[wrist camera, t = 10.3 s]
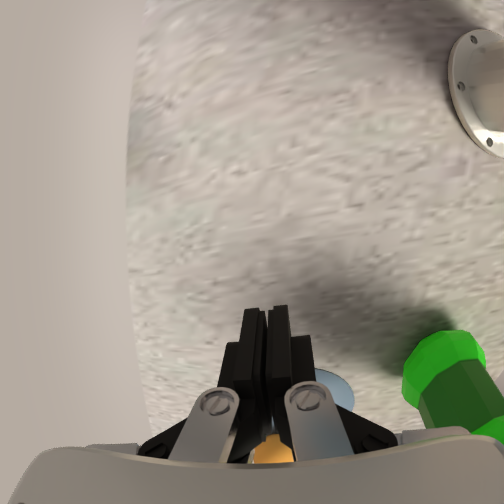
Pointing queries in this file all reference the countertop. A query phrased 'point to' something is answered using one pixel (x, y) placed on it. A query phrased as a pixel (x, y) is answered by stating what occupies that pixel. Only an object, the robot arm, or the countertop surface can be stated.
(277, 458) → the ball
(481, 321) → the countertop surface
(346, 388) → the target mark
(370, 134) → the countertop surface
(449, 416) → the plastic bottle
